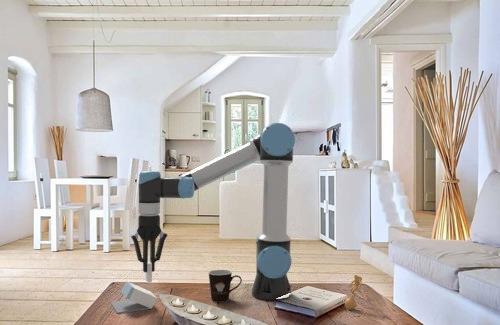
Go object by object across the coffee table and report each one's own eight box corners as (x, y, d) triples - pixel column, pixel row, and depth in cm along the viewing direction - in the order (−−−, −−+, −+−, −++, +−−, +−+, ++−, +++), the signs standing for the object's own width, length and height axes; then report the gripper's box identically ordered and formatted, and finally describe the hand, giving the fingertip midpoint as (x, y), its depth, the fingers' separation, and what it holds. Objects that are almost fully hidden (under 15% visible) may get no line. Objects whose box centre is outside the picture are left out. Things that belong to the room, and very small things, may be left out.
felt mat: (141, 299, 173) (141, 298, 173) (149, 309, 161) (149, 308, 161) (110, 303, 168) (110, 302, 168) (117, 313, 156) (117, 312, 156)
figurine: (341, 306, 165) (341, 272, 165) (357, 305, 166) (357, 271, 166) (348, 313, 157) (348, 277, 157) (366, 313, 157) (366, 277, 157)
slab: (150, 291, 170) (126, 281, 166) (157, 298, 162) (131, 287, 158) (145, 301, 169) (120, 291, 166) (151, 308, 161) (125, 298, 157)
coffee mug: (204, 301, 171) (204, 273, 171) (214, 295, 179) (214, 268, 179) (233, 304, 166) (233, 276, 166) (242, 298, 174) (242, 271, 174)
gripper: (164, 212, 172) (163, 276, 172) (128, 214, 166) (128, 280, 166) (170, 214, 165) (169, 281, 165) (132, 216, 159) (132, 285, 159)
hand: (148, 280), depth 165 cm, fingers closed
